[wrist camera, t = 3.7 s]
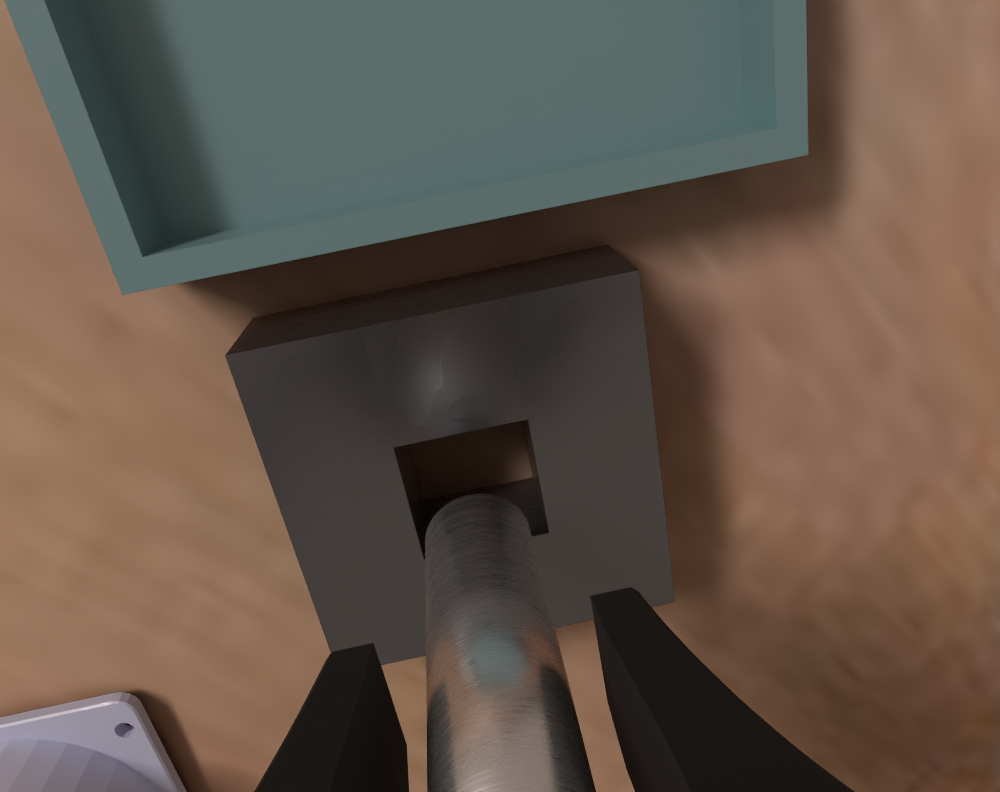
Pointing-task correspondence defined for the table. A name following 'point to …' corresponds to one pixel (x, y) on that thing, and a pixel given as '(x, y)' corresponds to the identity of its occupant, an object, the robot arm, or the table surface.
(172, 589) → the table surface
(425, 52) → the tray
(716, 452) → the table surface
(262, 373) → the block
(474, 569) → the steel pin
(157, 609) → the table surface
